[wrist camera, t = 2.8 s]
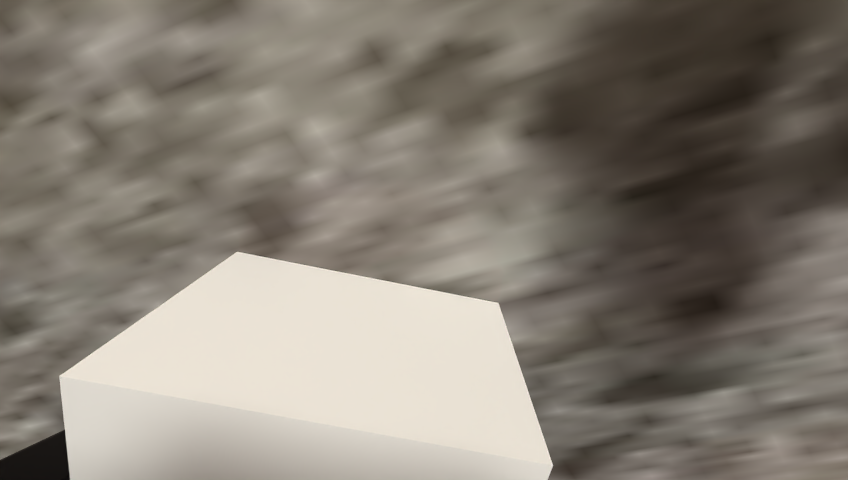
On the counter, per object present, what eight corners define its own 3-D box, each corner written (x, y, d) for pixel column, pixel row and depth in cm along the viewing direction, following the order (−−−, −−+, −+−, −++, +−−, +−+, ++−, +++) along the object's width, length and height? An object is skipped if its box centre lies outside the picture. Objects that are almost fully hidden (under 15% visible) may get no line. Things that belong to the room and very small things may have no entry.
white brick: (442, 494, 10) (447, 732, 6) (225, 456, 10) (90, 677, 6) (498, 302, 8) (553, 464, 4) (236, 251, 8) (58, 376, 4)
